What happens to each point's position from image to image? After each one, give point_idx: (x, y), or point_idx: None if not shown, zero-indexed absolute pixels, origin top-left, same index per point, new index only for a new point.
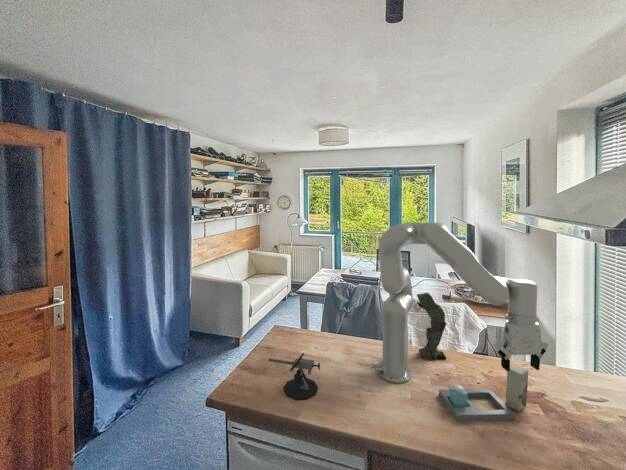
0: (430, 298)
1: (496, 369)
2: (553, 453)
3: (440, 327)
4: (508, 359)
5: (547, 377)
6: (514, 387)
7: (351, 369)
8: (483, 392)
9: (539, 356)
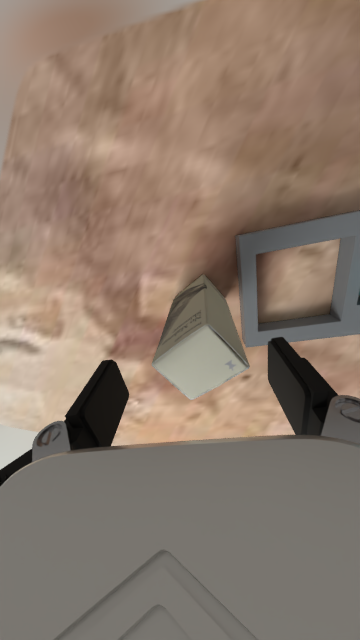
0: None
1: (175, 423)
2: (198, 70)
3: None
4: (321, 396)
5: None
6: (219, 308)
7: None
8: (274, 329)
9: (57, 434)
